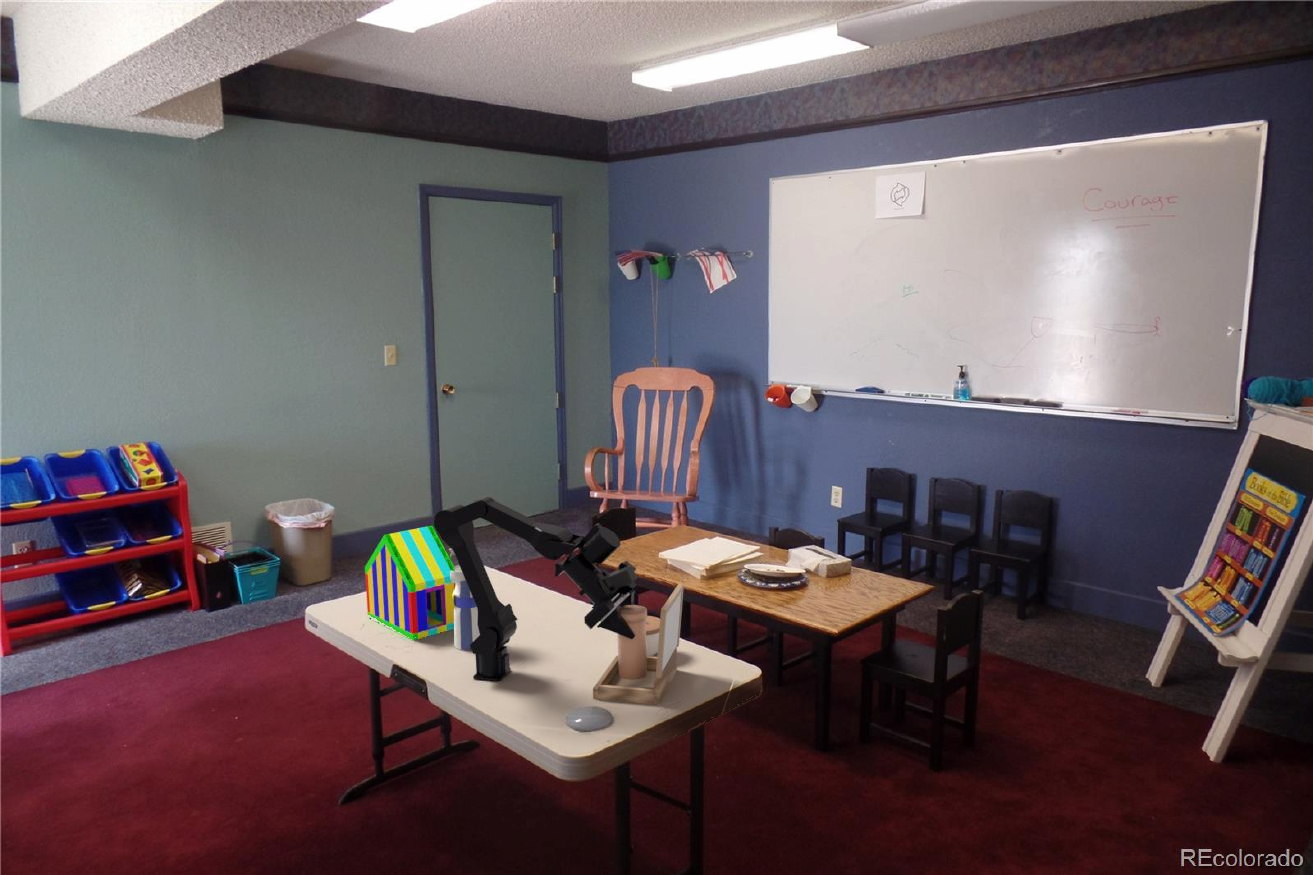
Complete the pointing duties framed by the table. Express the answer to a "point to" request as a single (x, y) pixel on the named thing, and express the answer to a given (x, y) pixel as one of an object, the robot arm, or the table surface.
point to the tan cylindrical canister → (633, 644)
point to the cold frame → (636, 683)
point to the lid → (669, 628)
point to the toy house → (411, 583)
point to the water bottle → (463, 611)
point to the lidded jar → (652, 635)
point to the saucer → (588, 718)
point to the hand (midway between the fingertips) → (638, 632)
